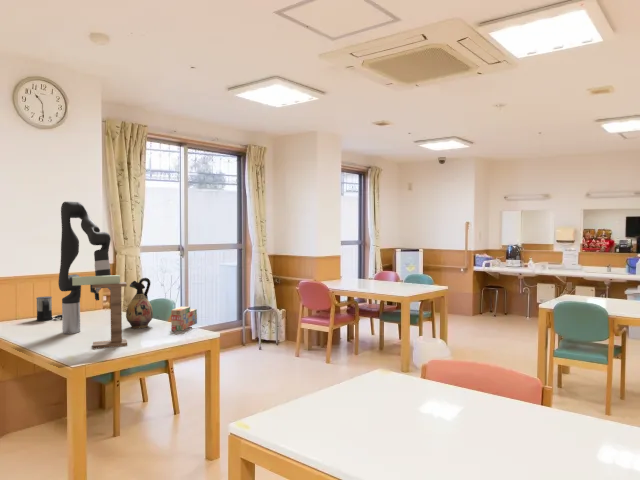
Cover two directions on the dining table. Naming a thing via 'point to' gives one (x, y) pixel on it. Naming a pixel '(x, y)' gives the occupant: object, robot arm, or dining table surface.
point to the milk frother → (45, 309)
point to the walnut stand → (113, 317)
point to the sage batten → (96, 280)
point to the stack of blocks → (183, 318)
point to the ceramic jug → (139, 306)
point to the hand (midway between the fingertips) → (105, 299)
